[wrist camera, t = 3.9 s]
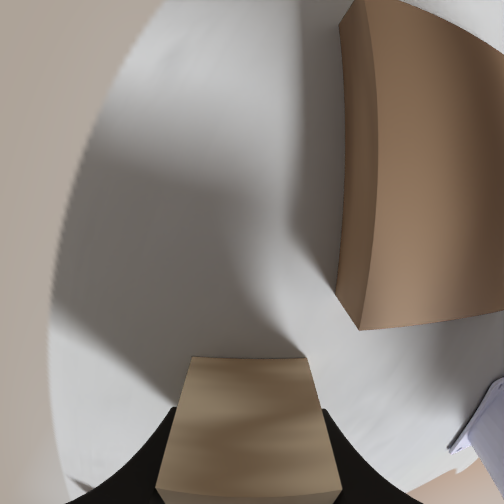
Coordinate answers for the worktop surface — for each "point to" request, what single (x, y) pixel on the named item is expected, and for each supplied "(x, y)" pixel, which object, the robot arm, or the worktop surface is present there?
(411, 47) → the walnut block
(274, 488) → the birch block
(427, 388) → the worktop surface
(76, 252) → the worktop surface
